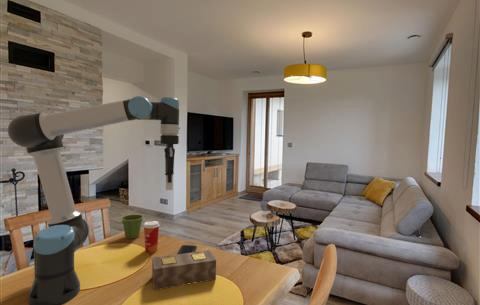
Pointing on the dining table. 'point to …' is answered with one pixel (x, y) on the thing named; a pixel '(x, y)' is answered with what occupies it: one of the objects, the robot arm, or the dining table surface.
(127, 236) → the plant pot
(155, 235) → the paper cup
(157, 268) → the walnut block
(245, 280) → the dining table surface
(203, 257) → the peg right
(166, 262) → the peg left
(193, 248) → the phone
